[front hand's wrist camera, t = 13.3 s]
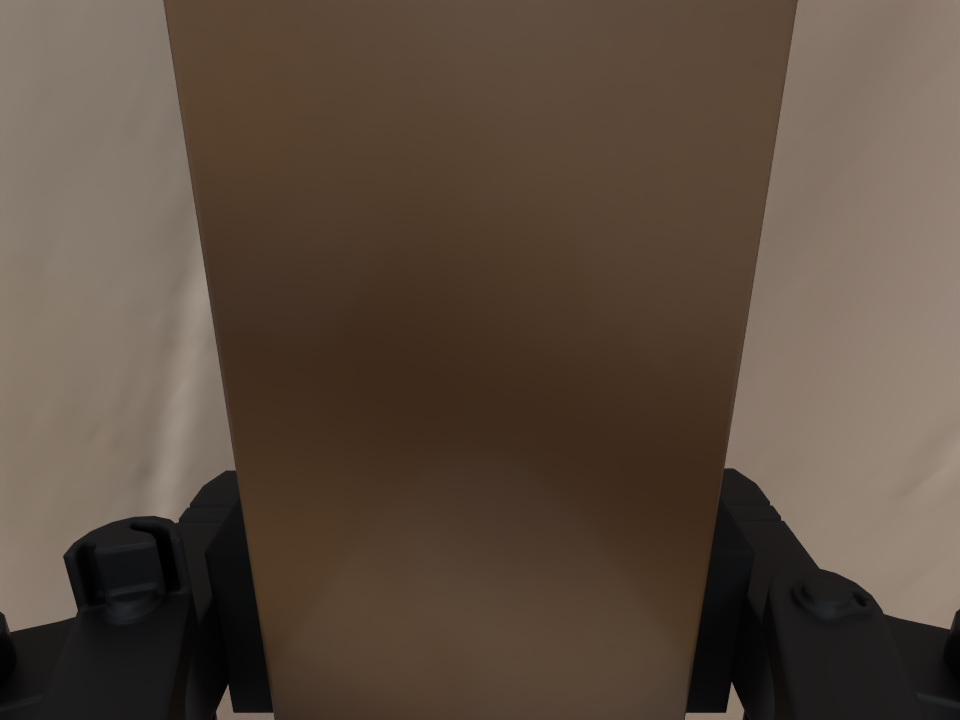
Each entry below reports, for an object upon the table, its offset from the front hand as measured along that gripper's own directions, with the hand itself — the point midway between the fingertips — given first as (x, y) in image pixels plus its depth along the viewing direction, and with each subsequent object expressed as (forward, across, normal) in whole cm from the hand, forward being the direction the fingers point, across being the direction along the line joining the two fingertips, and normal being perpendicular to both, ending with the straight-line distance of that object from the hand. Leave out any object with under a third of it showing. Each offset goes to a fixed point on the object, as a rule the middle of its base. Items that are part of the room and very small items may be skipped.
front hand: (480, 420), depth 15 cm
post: (0, 0, -23) cm, 23 cm away
